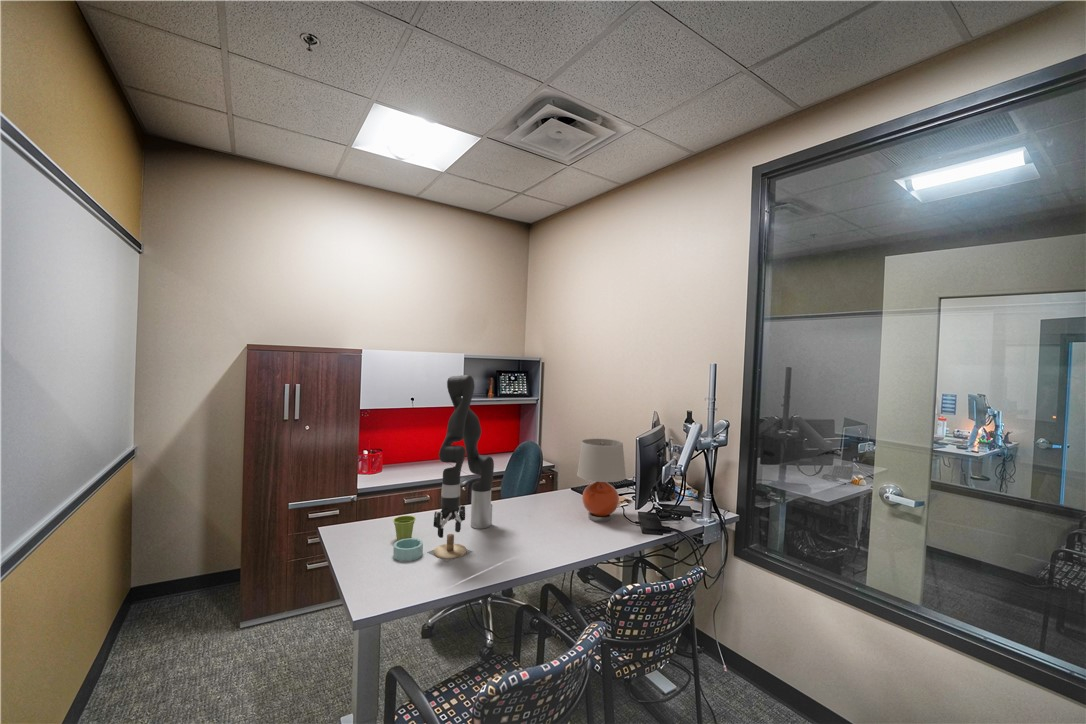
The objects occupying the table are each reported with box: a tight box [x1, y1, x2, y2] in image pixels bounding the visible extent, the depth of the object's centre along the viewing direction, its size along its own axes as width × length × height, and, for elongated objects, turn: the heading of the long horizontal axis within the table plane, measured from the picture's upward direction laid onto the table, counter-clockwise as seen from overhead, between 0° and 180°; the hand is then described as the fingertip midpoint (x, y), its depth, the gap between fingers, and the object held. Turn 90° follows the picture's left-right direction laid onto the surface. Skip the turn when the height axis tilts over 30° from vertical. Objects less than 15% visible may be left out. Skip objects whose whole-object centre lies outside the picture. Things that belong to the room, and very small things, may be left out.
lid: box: [433, 533, 467, 560], centre depth 186 cm, size 13×13×7 cm
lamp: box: [576, 438, 627, 523], centre depth 233 cm, size 25×25×39 cm
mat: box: [427, 548, 474, 563], centre depth 186 cm, size 13×13×1 cm
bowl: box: [392, 537, 424, 562], centre depth 182 cm, size 11×11×5 cm
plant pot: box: [392, 515, 417, 541], centre depth 199 cm, size 9×9×9 cm
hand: (449, 534), depth 186 cm, fingers open, 8 cm apart
